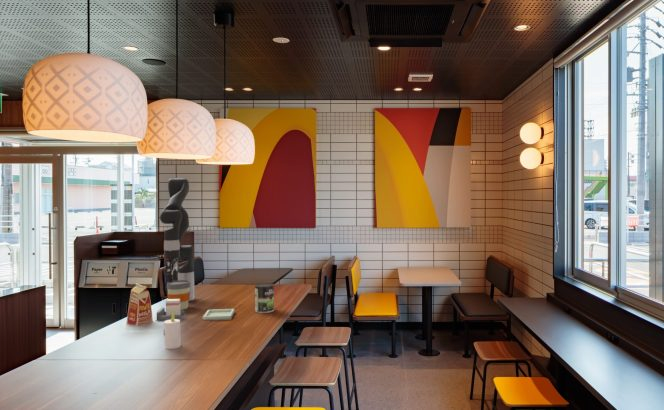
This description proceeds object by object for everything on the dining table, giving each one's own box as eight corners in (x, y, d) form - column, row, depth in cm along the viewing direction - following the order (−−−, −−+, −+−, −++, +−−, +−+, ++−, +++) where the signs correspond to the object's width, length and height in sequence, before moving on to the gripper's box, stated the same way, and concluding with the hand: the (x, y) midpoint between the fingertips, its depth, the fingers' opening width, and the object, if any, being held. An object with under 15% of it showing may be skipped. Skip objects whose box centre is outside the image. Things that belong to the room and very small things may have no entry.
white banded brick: (168, 316, 222) (168, 299, 222) (180, 315, 222) (180, 298, 222) (166, 318, 218) (165, 301, 218) (178, 318, 218) (178, 300, 218)
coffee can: (278, 310, 233) (277, 284, 233) (264, 314, 225) (264, 287, 225) (265, 307, 240) (264, 282, 239) (251, 311, 231) (250, 285, 231)
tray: (207, 313, 229) (207, 309, 229) (234, 312, 230) (234, 308, 230) (202, 321, 215) (202, 317, 215) (230, 319, 216) (230, 315, 216)
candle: (164, 344, 180) (163, 309, 180) (180, 342, 182) (179, 307, 182) (163, 349, 174) (163, 313, 174) (180, 347, 177) (180, 311, 176)
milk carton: (126, 325, 210) (125, 284, 209) (142, 320, 218) (141, 281, 218) (138, 327, 206) (137, 285, 205) (154, 322, 214) (153, 282, 213)
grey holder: (161, 316, 225) (161, 307, 225) (187, 315, 226) (186, 306, 226) (155, 322, 214) (154, 312, 214) (181, 321, 215) (181, 311, 215)
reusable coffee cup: (194, 306, 244) (194, 280, 244) (185, 312, 232) (184, 284, 232) (173, 306, 246) (173, 280, 245) (162, 311, 233) (162, 284, 233)
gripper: (168, 247, 226) (169, 278, 226) (160, 250, 212) (160, 283, 212) (183, 247, 227) (183, 277, 227) (175, 250, 213) (176, 282, 213)
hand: (172, 280), depth 220 cm, fingers open, 8 cm apart
